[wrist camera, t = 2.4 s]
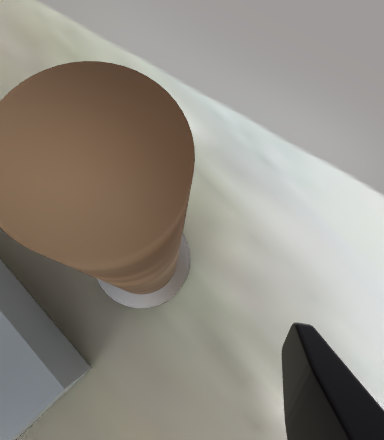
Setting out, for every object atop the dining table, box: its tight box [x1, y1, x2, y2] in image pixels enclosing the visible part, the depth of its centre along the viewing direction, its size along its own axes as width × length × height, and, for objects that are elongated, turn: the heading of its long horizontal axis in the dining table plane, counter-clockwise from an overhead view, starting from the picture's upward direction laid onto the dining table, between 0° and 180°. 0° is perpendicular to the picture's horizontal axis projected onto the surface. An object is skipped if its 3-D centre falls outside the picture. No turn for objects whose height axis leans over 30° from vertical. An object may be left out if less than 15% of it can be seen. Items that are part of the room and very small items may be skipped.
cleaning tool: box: [0, 61, 195, 308], centre depth 12 cm, size 4×4×13 cm
